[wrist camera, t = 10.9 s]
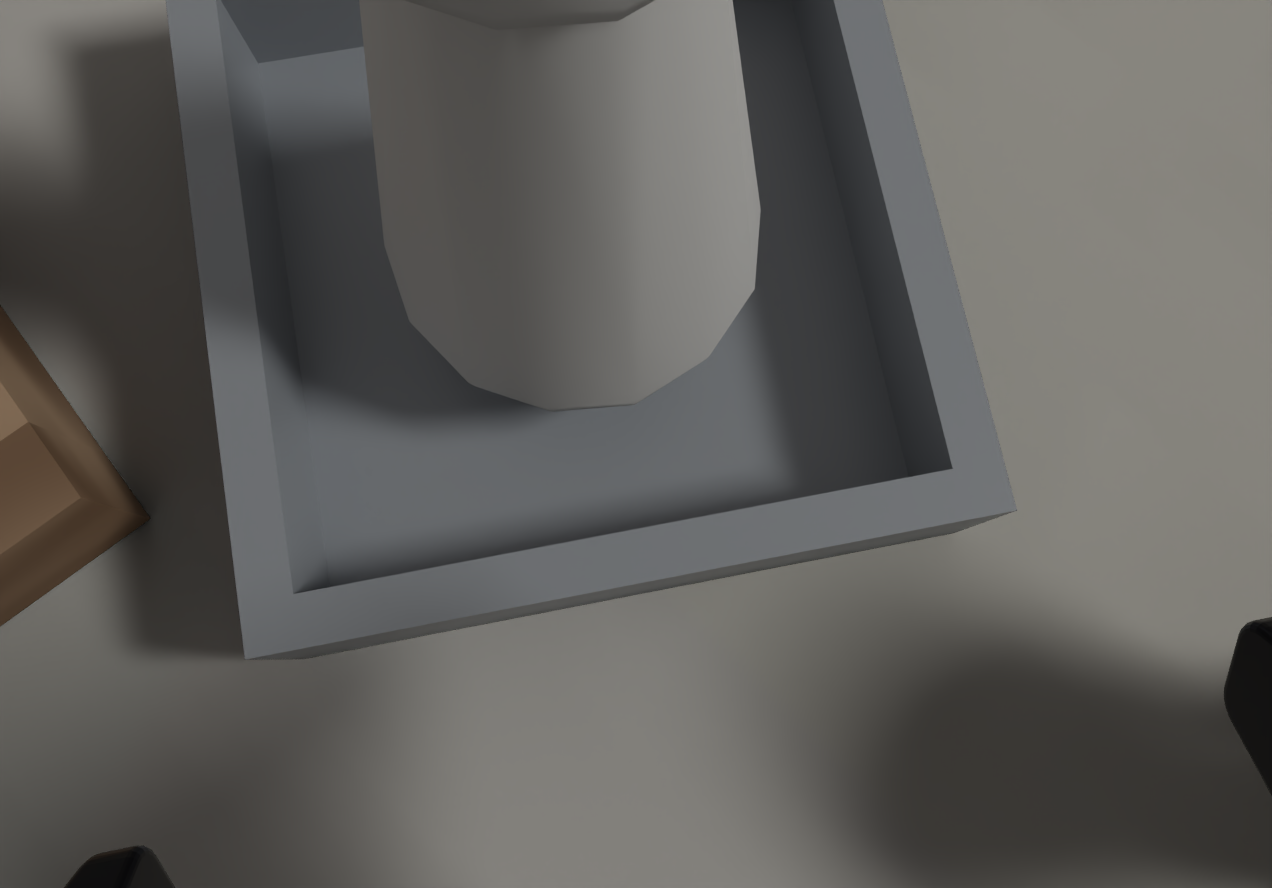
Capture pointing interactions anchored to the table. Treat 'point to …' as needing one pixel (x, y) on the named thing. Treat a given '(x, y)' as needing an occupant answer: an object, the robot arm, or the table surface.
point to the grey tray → (575, 439)
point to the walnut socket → (50, 483)
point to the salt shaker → (564, 187)
